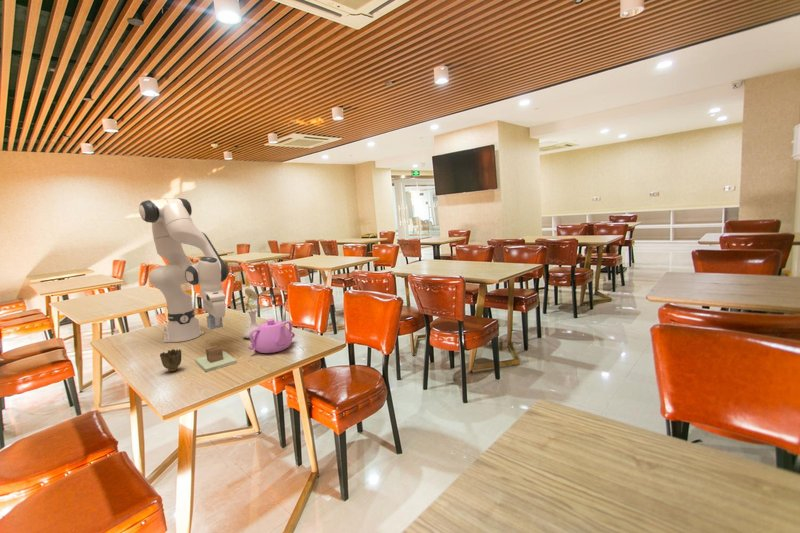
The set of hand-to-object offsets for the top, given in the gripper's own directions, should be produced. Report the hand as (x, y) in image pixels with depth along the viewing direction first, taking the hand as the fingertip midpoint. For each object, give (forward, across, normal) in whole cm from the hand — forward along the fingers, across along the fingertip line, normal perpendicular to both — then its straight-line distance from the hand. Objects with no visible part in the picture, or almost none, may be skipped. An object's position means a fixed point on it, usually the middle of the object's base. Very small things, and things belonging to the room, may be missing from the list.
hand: (214, 323), depth 168 cm
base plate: (+13, +13, -5) cm, 19 cm away
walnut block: (+12, +13, -5) cm, 18 cm away
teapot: (+13, +19, +19) cm, 30 cm away
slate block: (+2, 0, 0) cm, 2 cm away
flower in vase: (+14, -9, +20) cm, 26 cm away
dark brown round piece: (+14, +9, -20) cm, 26 cm away
